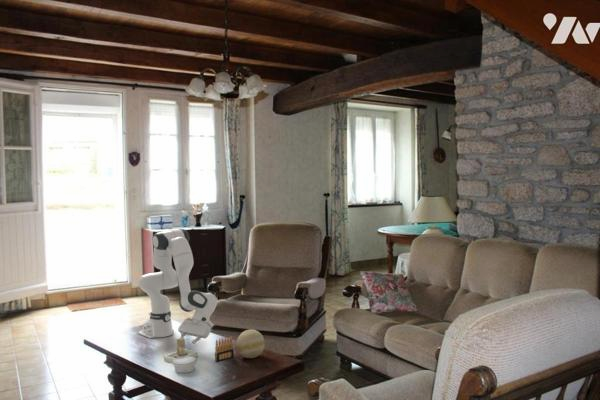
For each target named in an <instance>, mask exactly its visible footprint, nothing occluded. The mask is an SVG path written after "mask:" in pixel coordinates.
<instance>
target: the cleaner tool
mask: <svg viewBox="0 0 600 400" xmlns="http://www.w3.org/2000/svg"><path fill="white" fill-rule="evenodd" d="M185 341H186V340H185V337H184V338H181V337H178V338H176V351H177V355H175V356H174V358H179V357H184V356H187V355H188V353H186V352H185V349H186V344H185V343H186V342H185Z"/></svg>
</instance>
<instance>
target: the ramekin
mask: <svg viewBox="0 0 600 400" xmlns="http://www.w3.org/2000/svg"><path fill="white" fill-rule="evenodd" d="M196 361H197V360H196V357H191V356H184V357H179V358H176V359H174V360H173V363H172V364H173V367H174V371H175V372H176V373H178V374H188V373H191V372H193V371H194V369H195V367H196Z"/></svg>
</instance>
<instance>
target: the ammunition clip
mask: <svg viewBox="0 0 600 400" xmlns="http://www.w3.org/2000/svg"><path fill="white" fill-rule="evenodd" d="M233 345H234V343H233V337H232V335H231V336H230V337H229V336H228V337H225V338H223V337H222V338H219V339H216V340H215V347H214V348H215V352H214V362H215V363H217V364H218V363H221V362H225V361H229V360H233V359H234V358H235V354H234V346H233Z"/></svg>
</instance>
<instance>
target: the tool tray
mask: <svg viewBox="0 0 600 400" xmlns="http://www.w3.org/2000/svg"><path fill="white" fill-rule="evenodd" d="M185 352H186V353H188V355H187V356H191V357H194V358H197V357H198V356H199V353H198V351H197V350H192V349H188V348H185ZM175 355H177V350H175V351H174V352H171V353H169V354H166V355H163V361H165V362H167V363H172V364H174V363H173V360H174V359H176V358H174V356H175Z"/></svg>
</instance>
